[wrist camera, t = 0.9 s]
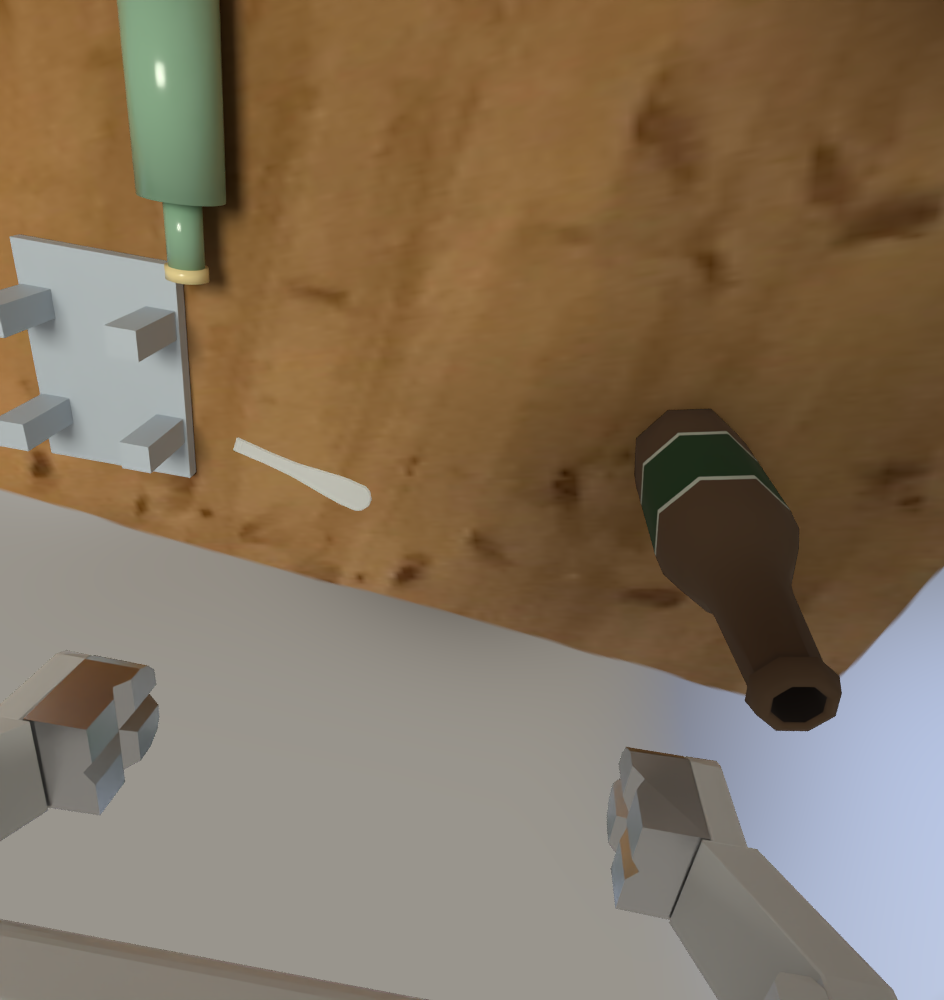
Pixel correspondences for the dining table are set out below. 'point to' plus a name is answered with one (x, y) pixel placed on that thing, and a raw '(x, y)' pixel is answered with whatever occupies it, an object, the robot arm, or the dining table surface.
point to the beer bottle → (734, 560)
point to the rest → (101, 357)
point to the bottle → (176, 119)
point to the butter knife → (312, 477)
